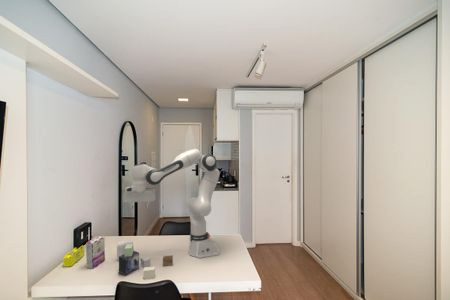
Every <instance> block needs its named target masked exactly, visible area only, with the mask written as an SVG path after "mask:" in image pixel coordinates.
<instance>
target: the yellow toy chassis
mask: <svg viewBox="0 0 450 300" xmlns="http://www.w3.org/2000/svg"><path fill="white" fill-rule="evenodd" d="M84 255H85V246H84V245H81V246H80V247H74V248H73V249H71V250H70V251H68V252H67V253H66V254H64V257H63V258H62V260H63V262H62V263H63V267H67V268H69V267H72V266H74V265H75V264H76V263H78V262H79V261H80V260H81V259H82V257H83V256H84Z"/></svg>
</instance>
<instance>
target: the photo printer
mask: <svg viewBox="0 0 450 300" xmlns="http://www.w3.org/2000/svg"><path fill="white" fill-rule="evenodd" d="M127 244H133V245H134V241H133V240H132V239H126V240H121V241H119V242H117V246H116V260H117V262H119V256H121V255H124V248H125V247H126V245H127Z"/></svg>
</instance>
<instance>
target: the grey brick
mask: <svg viewBox="0 0 450 300" xmlns="http://www.w3.org/2000/svg"><path fill="white" fill-rule="evenodd" d="M140 267H142V268H143V269H144V267H151V258H150V257H149V256H148V255H145V256H141V257H140Z"/></svg>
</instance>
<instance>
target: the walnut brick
mask: <svg viewBox="0 0 450 300" xmlns="http://www.w3.org/2000/svg"><path fill="white" fill-rule="evenodd" d="M173 257H174V255H163V256H162V267H172V266H173V263H174V261H173Z"/></svg>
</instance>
